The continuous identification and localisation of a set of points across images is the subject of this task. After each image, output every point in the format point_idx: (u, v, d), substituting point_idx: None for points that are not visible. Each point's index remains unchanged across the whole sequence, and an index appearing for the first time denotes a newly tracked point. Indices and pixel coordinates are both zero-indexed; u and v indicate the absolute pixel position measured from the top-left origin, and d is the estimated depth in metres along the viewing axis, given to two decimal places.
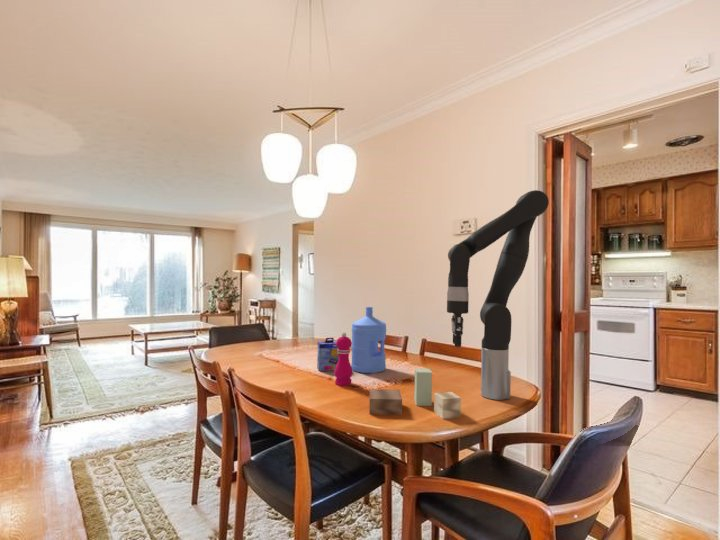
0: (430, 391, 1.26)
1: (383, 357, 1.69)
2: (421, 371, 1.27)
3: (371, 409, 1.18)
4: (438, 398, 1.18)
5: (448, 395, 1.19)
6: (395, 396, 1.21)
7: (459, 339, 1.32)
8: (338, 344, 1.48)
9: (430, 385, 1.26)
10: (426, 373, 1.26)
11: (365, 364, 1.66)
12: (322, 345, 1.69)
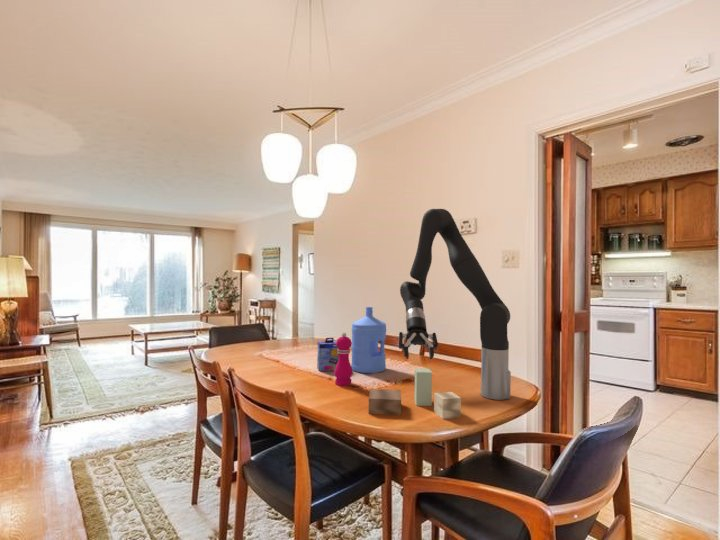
0: (430, 391, 1.26)
1: (383, 357, 1.69)
2: (421, 371, 1.27)
3: (370, 409, 1.18)
4: (438, 398, 1.18)
5: (448, 395, 1.19)
6: (395, 396, 1.20)
7: (404, 350, 1.40)
8: (338, 344, 1.48)
9: (430, 385, 1.26)
10: (426, 373, 1.26)
11: (365, 364, 1.66)
12: (322, 345, 1.69)
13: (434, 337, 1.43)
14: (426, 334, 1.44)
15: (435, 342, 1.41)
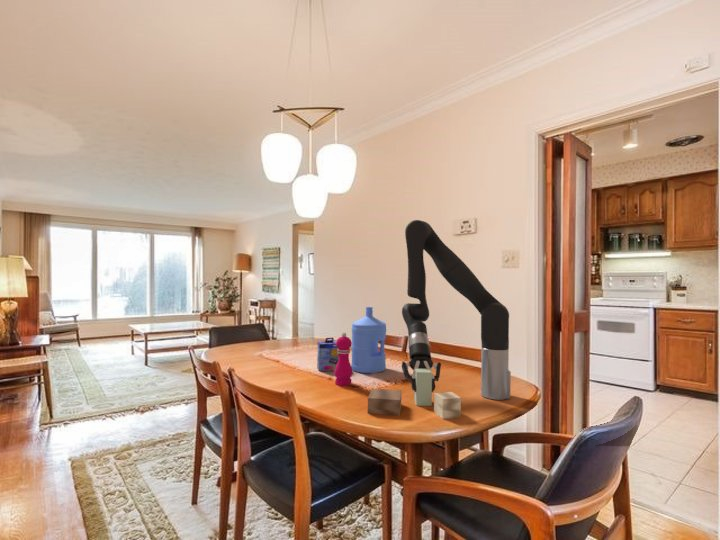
0: (430, 391, 1.26)
1: (383, 357, 1.69)
2: (421, 371, 1.27)
3: (369, 408, 1.19)
4: (438, 398, 1.18)
5: (448, 395, 1.19)
6: (394, 396, 1.20)
7: (411, 382, 1.29)
8: (338, 344, 1.48)
9: (430, 385, 1.26)
10: (426, 373, 1.26)
11: (365, 364, 1.66)
12: (322, 345, 1.69)
13: (438, 367, 1.32)
14: (430, 362, 1.33)
15: (437, 373, 1.30)
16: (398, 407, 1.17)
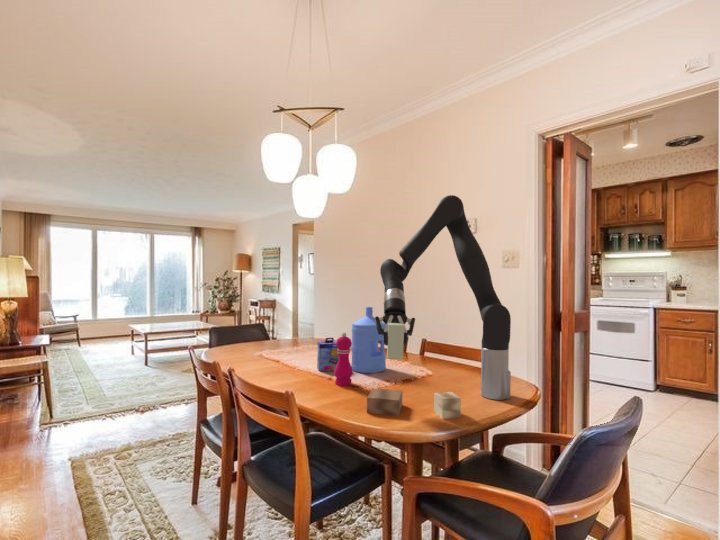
0: (402, 344, 1.23)
1: (383, 357, 1.69)
2: (393, 324, 1.24)
3: (368, 408, 1.19)
4: (438, 398, 1.18)
5: (448, 395, 1.19)
6: (394, 397, 1.20)
7: None
8: (338, 344, 1.48)
9: (402, 338, 1.23)
10: (398, 326, 1.23)
11: (365, 364, 1.66)
12: (322, 345, 1.69)
13: (412, 322, 1.28)
14: (404, 317, 1.30)
15: (410, 327, 1.27)
16: (397, 407, 1.17)
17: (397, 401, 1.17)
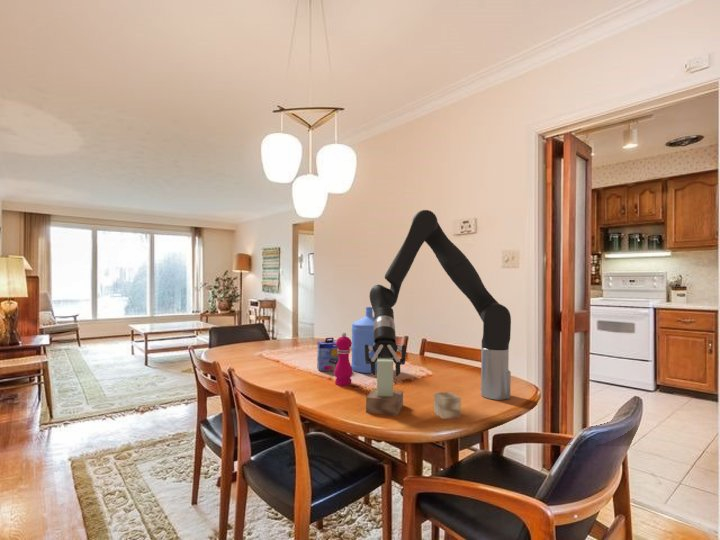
0: (391, 381, 1.21)
1: None
2: (382, 360, 1.22)
3: (367, 408, 1.19)
4: (438, 398, 1.18)
5: (448, 395, 1.19)
6: (393, 397, 1.20)
7: (371, 366, 1.23)
8: (338, 344, 1.48)
9: (391, 375, 1.21)
10: (387, 362, 1.21)
11: (365, 364, 1.66)
12: (322, 345, 1.69)
13: (403, 350, 1.26)
14: (395, 346, 1.28)
15: (403, 356, 1.25)
16: (396, 407, 1.17)
17: (396, 401, 1.17)
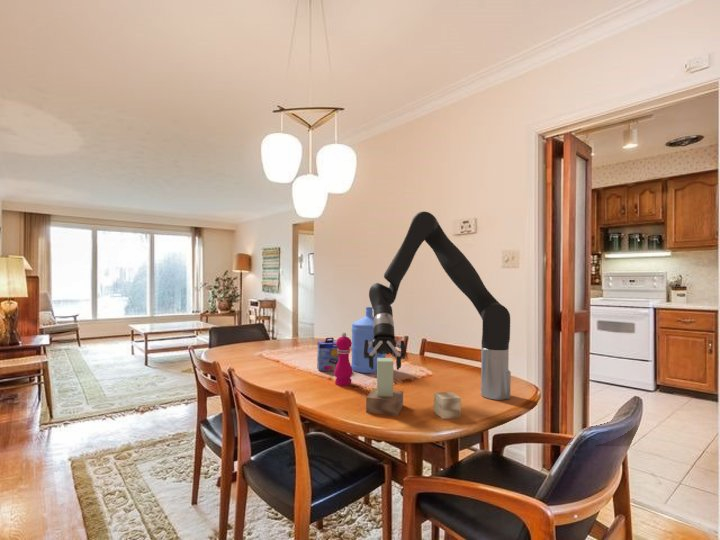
0: (391, 381, 1.21)
1: (383, 357, 1.69)
2: (382, 360, 1.22)
3: (368, 408, 1.19)
4: (438, 398, 1.18)
5: (448, 395, 1.19)
6: (393, 397, 1.20)
7: (369, 360, 1.28)
8: (338, 344, 1.48)
9: (391, 375, 1.21)
10: (387, 362, 1.21)
11: (365, 364, 1.66)
12: (322, 345, 1.69)
13: (402, 345, 1.31)
14: (394, 342, 1.32)
15: (403, 351, 1.30)
16: (396, 408, 1.17)
17: (396, 401, 1.17)
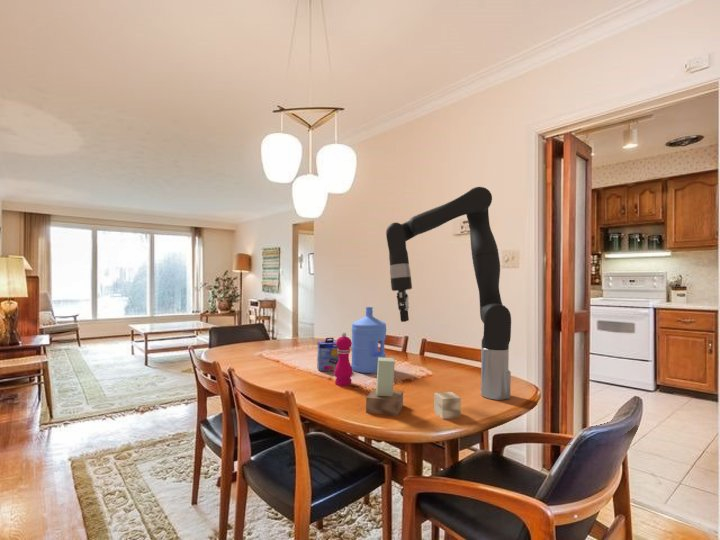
0: (392, 381, 1.21)
1: (383, 357, 1.69)
2: (384, 360, 1.22)
3: (367, 408, 1.19)
4: (438, 398, 1.18)
5: (448, 395, 1.19)
6: (393, 397, 1.20)
7: (404, 314, 1.34)
8: (338, 344, 1.48)
9: (392, 375, 1.21)
10: (389, 362, 1.21)
11: (365, 364, 1.66)
12: (322, 345, 1.69)
13: None
14: None
15: None
16: (396, 408, 1.17)
17: (396, 401, 1.17)
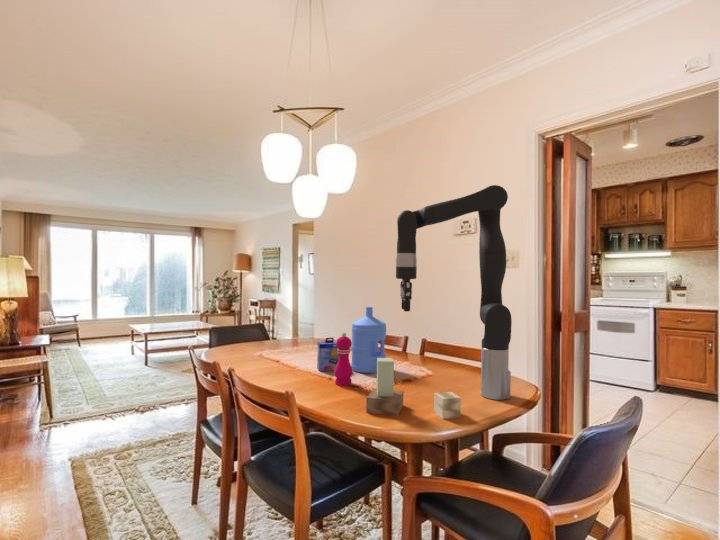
0: (392, 381, 1.21)
1: (383, 357, 1.69)
2: (383, 360, 1.22)
3: (368, 408, 1.19)
4: (438, 398, 1.18)
5: (448, 395, 1.19)
6: (393, 397, 1.20)
7: (408, 304, 1.35)
8: (338, 344, 1.48)
9: (392, 375, 1.21)
10: (388, 362, 1.21)
11: (365, 364, 1.66)
12: (322, 345, 1.69)
13: None
14: None
15: None
16: (396, 408, 1.17)
17: (396, 402, 1.17)
